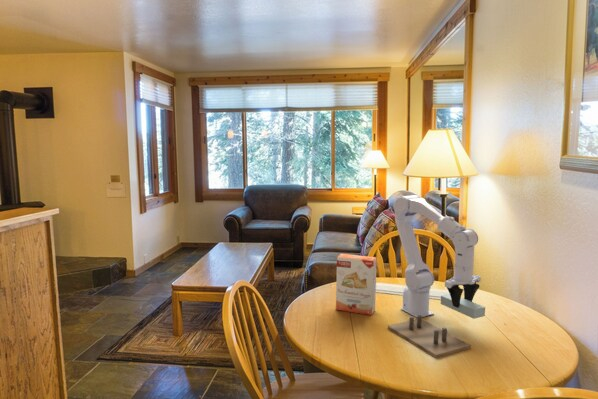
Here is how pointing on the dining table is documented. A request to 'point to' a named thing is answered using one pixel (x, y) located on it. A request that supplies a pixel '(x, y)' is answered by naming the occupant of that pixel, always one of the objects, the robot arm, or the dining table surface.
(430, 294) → the baseboard molding
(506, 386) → the dining table surface
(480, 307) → the pale grey block
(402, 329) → the brown slab
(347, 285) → the cracker box
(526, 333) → the dining table surface
